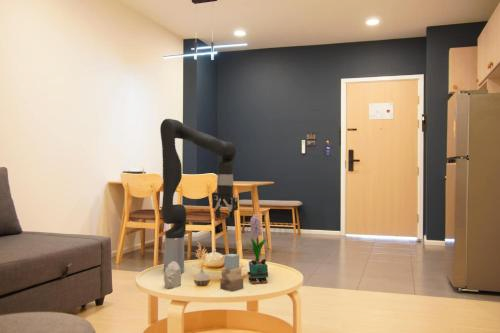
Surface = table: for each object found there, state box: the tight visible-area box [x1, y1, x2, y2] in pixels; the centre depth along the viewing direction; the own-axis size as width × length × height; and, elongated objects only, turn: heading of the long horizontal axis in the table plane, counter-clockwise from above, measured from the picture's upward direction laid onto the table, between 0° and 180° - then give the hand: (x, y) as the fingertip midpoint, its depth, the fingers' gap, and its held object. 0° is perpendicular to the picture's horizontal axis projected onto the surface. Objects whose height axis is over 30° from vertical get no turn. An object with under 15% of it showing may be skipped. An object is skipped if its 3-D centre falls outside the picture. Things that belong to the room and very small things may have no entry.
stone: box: [163, 261, 182, 290], centre depth 191 cm, size 9×5×10 cm, turn 151°
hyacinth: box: [246, 213, 267, 280], centre depth 208 cm, size 9×10×30 cm
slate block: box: [223, 253, 240, 270], centre depth 189 cm, size 4×4×6 cm
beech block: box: [221, 267, 242, 281], centre depth 189 cm, size 6×6×4 cm
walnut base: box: [219, 277, 244, 293], centre depth 189 cm, size 7×7×4 cm
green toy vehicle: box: [247, 258, 269, 285], centre depth 200 cm, size 9×11×10 cm
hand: (224, 218), depth 205 cm, fingers open, 8 cm apart
